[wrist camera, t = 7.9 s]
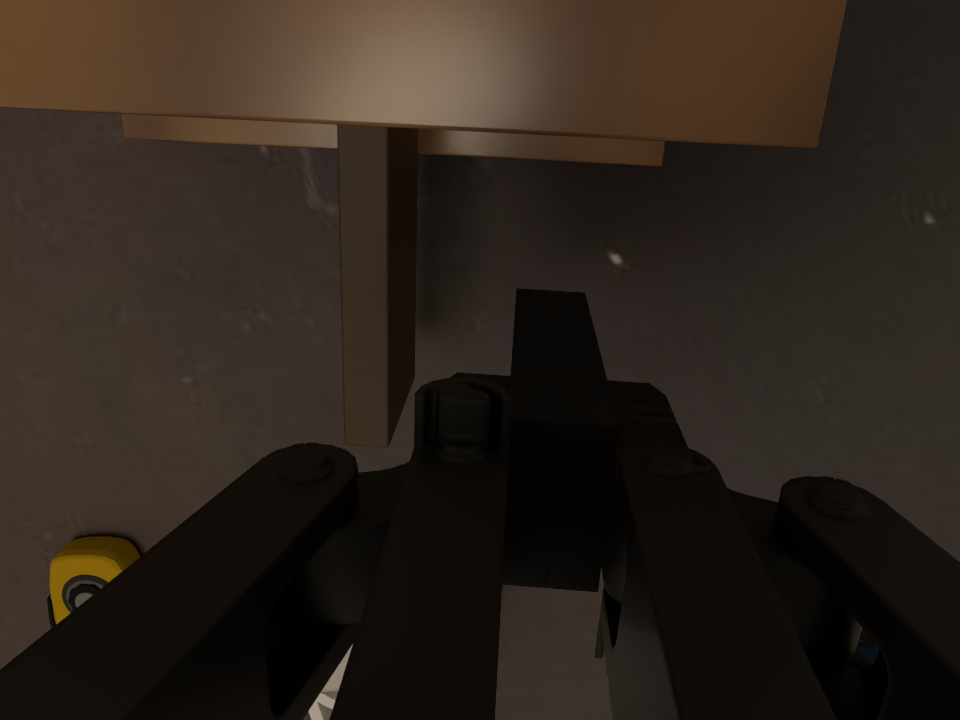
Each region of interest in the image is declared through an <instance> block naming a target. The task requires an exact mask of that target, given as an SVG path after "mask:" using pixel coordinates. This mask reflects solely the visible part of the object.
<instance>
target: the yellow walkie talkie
mask: <svg viewBox="0 0 960 720" xmlns="http://www.w3.org/2000/svg"><path fill="white" fill-rule="evenodd" d="M139 557H141V556H140V554H139V553H138V551H137V550H136V548H135V546H134V545H133V544H132V543H131V542H130V541H128V540H125V539H123V538H117V537H110V536H96V537H84V538H78V539H75V540H73V541H72V542H70V543H69V544H67V545H66V546H65V547H64V548H63V549H62V550H61V551H60V552H59V553H58V554H57V555H56V556H55V557H54V559H53V560H52V563H51V566H50V593H51V594H50V595H49V597H48V598H47V601H48V612H49V619H50V624H51V628H53V627H54V626H55V625H56V624H58V623H59V622H60V621H61V620H63V619H64V618H65V617H66V616H68V615H69V614H70V613H71V612H73V611H74V610H75V609H76V608H77V607H79V606H80V605H81V604H82V603H84V602H85V601H86V600H87V599H89V598H90V597H91V596H92V595H94V594H95V593H96V592H97V591H99V590H100V589H101V588H102V587H104V586H105V585H106V584H107V583H108V582H110V581H111V580H112V579H113V578H115V577H116V576H117V575H118V574H120V573H121V572H122V571H123V570H125V569H126V568H127V567H128V566H130V565H131V564H132V563H133V562H135V561H136V560H137V559H138V558H139Z"/></svg>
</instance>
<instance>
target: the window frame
mask: <svg viewBox="0 0 960 720" xmlns="http://www.w3.org/2000/svg"><path fill="white" fill-rule="evenodd" d="M846 3H847V0H0V108H18V109H38V110H58V111H77V112H97V113H117V114H121V119H122V127H123V135H124V138H126V139H142V140H161V141H181V142H200V143H219V144H238V145H258V146H277V147H296V148H316V149H335V150H338V149H337V125H355V126H374V127H394V128H414V129H418V154H432V155H451V156H470V157H489V158H509V159H528V160H547V161H567V162H586V163H605V164H625V165H644V166H662V163H663V155H664V148H665V141H671V142H691V143H711V144H731V145H751V146H770V147H790V148H810V149H812V148H815V147H816V146H817V144H818V141H819V136H820V131H821V126H822V121H823V116H824V111H825V106H826V101H827V96H828V92H829V87H830V82H831V77H832V72H833V67H834V62H835V57H836V52H837V47H838V42H839V37H840V33H841V28H842V23H843V18H844V13H845V8H846Z"/></svg>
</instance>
